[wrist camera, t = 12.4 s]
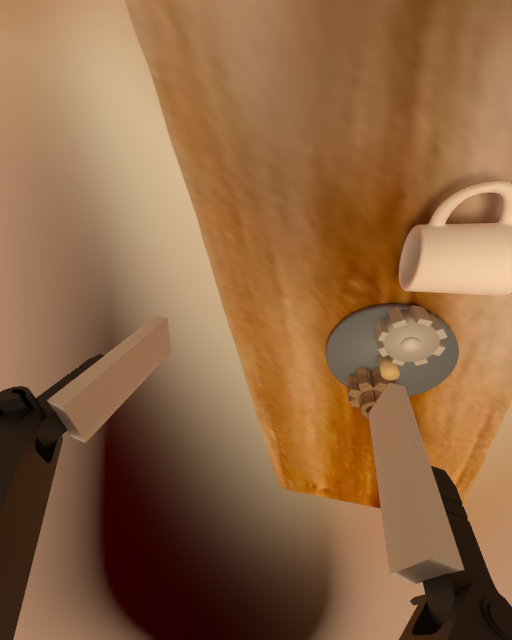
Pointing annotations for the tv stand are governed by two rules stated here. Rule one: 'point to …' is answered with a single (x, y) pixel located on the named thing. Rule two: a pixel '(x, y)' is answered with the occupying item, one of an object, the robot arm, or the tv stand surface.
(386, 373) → the carrier
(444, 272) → the mug
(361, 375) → the oak gear
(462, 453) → the tv stand surface
